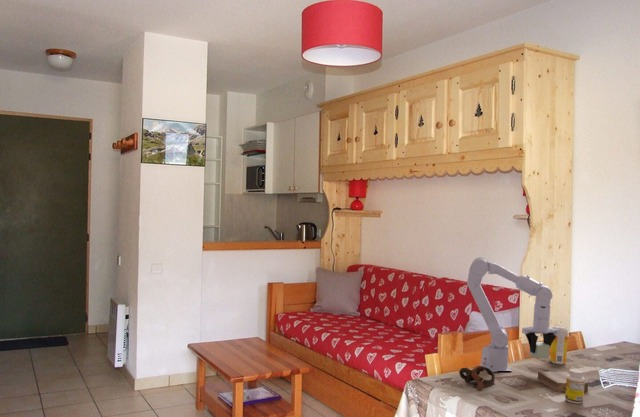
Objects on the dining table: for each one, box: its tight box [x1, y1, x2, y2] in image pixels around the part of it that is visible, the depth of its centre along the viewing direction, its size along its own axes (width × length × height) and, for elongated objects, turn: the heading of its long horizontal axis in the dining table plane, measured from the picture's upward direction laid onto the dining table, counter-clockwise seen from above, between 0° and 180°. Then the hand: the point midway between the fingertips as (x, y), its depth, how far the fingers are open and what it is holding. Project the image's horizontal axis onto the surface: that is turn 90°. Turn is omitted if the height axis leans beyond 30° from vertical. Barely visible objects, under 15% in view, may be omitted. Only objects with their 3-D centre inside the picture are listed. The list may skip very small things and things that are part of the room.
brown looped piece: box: [458, 365, 495, 392], centre depth 194 cm, size 12×10×8 cm
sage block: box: [528, 341, 551, 360], centre depth 212 cm, size 5×5×5 cm
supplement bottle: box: [564, 368, 586, 405], centre depth 185 cm, size 6×6×10 cm
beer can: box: [549, 325, 569, 366], centre depth 230 cm, size 6×6×15 cm
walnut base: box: [537, 371, 589, 392], centre depth 201 cm, size 12×12×3 cm
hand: (539, 352), depth 212 cm, fingers closed on sage block, 5 cm apart
